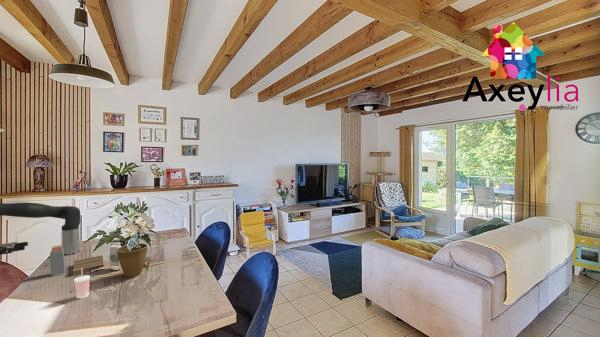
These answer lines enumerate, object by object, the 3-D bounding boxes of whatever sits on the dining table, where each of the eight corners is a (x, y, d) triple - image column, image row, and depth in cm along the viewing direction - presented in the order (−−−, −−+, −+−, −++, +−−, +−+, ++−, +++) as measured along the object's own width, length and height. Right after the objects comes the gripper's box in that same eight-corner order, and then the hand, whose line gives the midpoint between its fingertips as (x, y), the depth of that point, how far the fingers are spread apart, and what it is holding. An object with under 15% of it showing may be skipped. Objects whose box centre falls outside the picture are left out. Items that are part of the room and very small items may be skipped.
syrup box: (126, 266, 161) (125, 243, 161) (118, 270, 155) (118, 246, 155) (117, 266, 162) (117, 243, 161) (110, 270, 156) (109, 246, 155)
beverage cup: (77, 294, 128) (76, 266, 128) (93, 292, 131) (92, 264, 130) (72, 300, 123) (70, 271, 122) (88, 298, 125) (86, 269, 124)
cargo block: (52, 253, 152) (52, 246, 152) (62, 251, 154) (61, 244, 154) (52, 255, 149) (51, 248, 149) (61, 253, 151) (61, 246, 151)
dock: (74, 265, 164) (74, 260, 164) (102, 259, 173) (102, 254, 173) (73, 276, 149) (72, 270, 148) (103, 269, 157) (103, 264, 157)
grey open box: (52, 273, 152) (51, 251, 152) (65, 270, 156) (64, 248, 155) (50, 276, 148) (49, 253, 148) (64, 273, 152) (63, 251, 151)
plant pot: (154, 270, 155) (153, 244, 154) (132, 282, 141) (131, 253, 140) (134, 268, 159) (133, 242, 158) (110, 279, 145) (109, 250, 144)
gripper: (-25, 248, 128) (23, 241, 138) (-15, 241, 139) (28, 236, 149) (-24, 263, 128) (23, 256, 138) (-15, 255, 139) (29, 249, 149)
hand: (26, 245), depth 144 cm, fingers open, 8 cm apart
